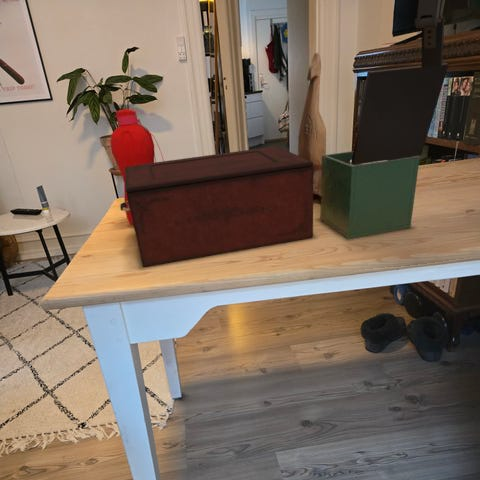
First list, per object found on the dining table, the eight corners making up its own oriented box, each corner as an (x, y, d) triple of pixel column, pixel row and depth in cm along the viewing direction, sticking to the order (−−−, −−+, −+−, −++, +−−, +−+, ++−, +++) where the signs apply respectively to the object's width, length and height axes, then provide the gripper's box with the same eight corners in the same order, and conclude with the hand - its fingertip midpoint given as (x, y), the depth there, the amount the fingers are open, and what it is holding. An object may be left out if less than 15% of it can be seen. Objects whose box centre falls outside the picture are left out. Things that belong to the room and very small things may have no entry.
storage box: (285, 207, 102) (283, 142, 94) (323, 235, 83) (324, 158, 75) (129, 232, 96) (114, 165, 88) (131, 269, 77) (111, 188, 69)
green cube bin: (320, 219, 92) (321, 155, 85) (376, 210, 94) (381, 147, 87) (348, 239, 80) (351, 166, 73) (410, 227, 83) (420, 156, 75)
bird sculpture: (283, 201, 106) (278, 56, 90) (299, 190, 115) (297, 55, 98) (324, 204, 101) (327, 50, 85) (338, 191, 110) (343, 49, 93)
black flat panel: (367, 71, 63) (369, 72, 62) (446, 62, 65) (449, 64, 64) (351, 163, 73) (353, 165, 73) (419, 153, 76) (421, 155, 75)
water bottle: (171, 224, 98) (150, 108, 85) (126, 228, 99) (98, 113, 86) (175, 212, 106) (157, 105, 93) (134, 216, 107) (109, 109, 94)
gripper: (453, -202, 51) (444, -11, 68) (383, -89, 44) (393, 92, 61) (523, -227, 47) (495, -18, 64) (459, -108, 40) (447, 91, 57)
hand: (445, 36), depth 63 cm, fingers open, 13 cm apart
